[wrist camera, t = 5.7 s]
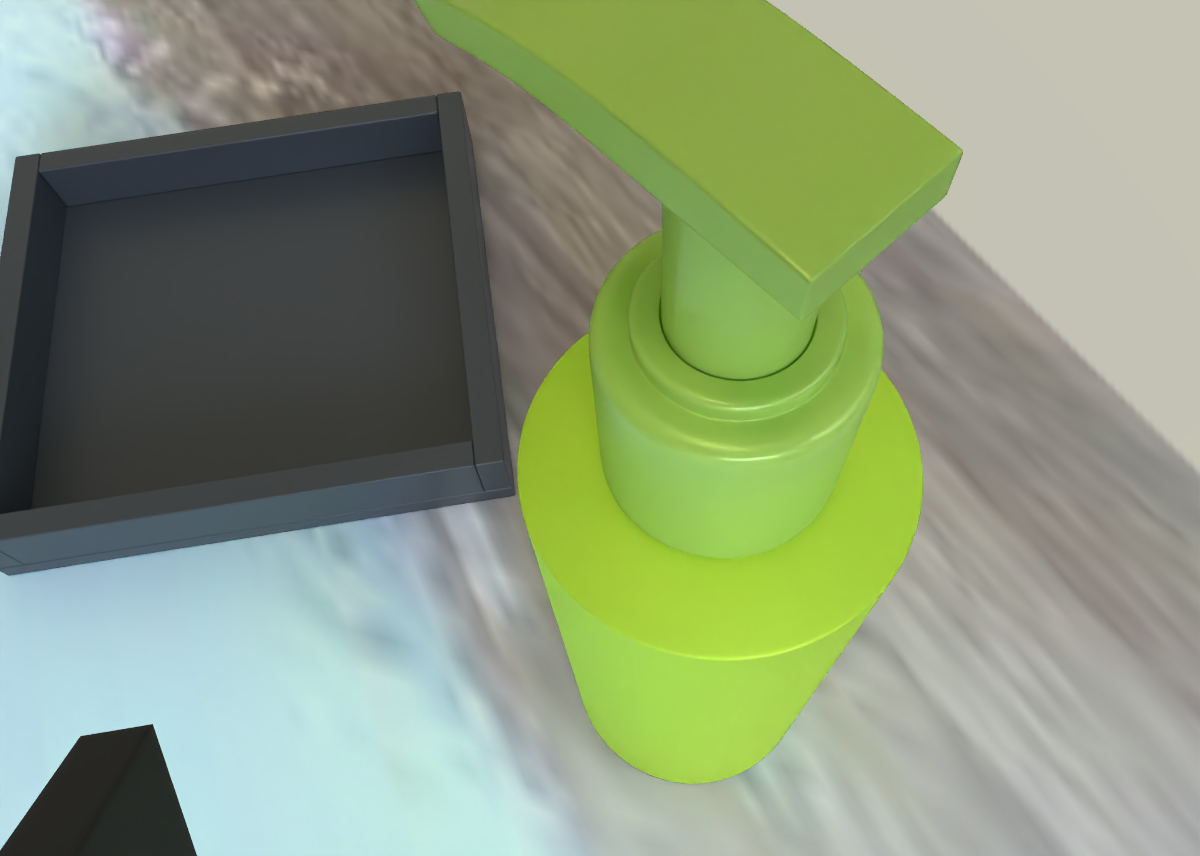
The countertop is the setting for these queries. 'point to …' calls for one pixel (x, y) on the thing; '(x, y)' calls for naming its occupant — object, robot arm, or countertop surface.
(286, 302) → the tray
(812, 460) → the soap dispenser
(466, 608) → the countertop surface
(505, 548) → the countertop surface
